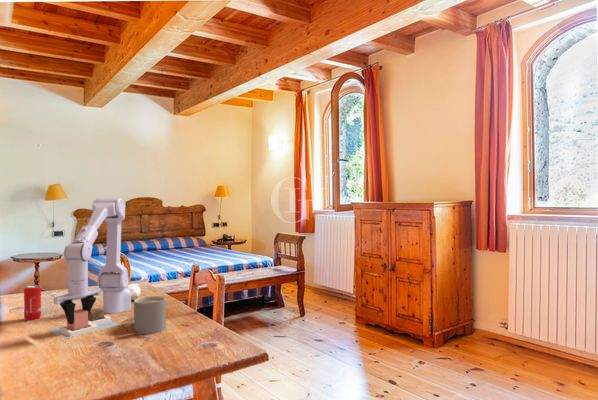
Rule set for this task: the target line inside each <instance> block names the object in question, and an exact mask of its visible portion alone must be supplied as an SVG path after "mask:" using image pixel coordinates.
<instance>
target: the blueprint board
mask: <svg viewBox="0 0 598 400" xmlns="http://www.w3.org/2000/svg"><path fill="white" fill-rule="evenodd" d="M116 326H122V324H121V323H120V322H119V323H118V322H117V321H115V320H112V317H111V316H108V315H105V314H104V319H101V320H96V321H92V322H91V321H89V320H88V326H87V327H83V328H80V329H76V330H73V329H70V328H67V324H66V325H63V326H62V325H61V326H57V327H53V328H49V329H47V331H48V332H51V333H53V334H54V335H57V336H59V337H61V338H64V339H70V338H74V337H78V336H83V335H86V334H90V333H94V332H97V331H100V330H102V331H103V330H105V329H110V328H114V327H116Z"/></svg>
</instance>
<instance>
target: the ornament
mask: <svg viewBox="0 0 598 400" xmlns="http://www.w3.org/2000/svg"><path fill="white" fill-rule="evenodd" d="M126 288H128V289H129V291H130V293H131V302H132V300H136V299H138V298H140V296H141V292H142V291H141V287H139V285H138V283H137V282H136V281H135V282H134V281H132V283H130V284H129V283H128V285H127V287H126Z"/></svg>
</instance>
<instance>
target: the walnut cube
mask: <svg viewBox="0 0 598 400" xmlns="http://www.w3.org/2000/svg"><path fill="white" fill-rule="evenodd" d="M104 315H105V313H104V310H103V308H100V307H98V308H94V309H93V308H92V309H91V311H90V315H89V319H88V320H89V321H91V322H92V321H96V320H101V319H104Z"/></svg>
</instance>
